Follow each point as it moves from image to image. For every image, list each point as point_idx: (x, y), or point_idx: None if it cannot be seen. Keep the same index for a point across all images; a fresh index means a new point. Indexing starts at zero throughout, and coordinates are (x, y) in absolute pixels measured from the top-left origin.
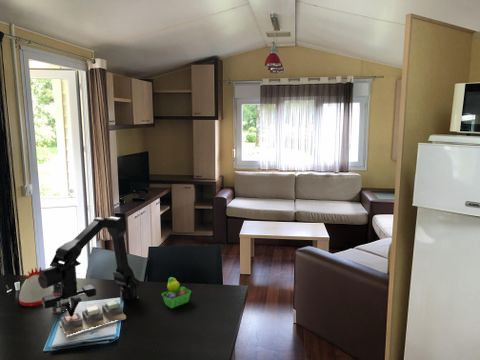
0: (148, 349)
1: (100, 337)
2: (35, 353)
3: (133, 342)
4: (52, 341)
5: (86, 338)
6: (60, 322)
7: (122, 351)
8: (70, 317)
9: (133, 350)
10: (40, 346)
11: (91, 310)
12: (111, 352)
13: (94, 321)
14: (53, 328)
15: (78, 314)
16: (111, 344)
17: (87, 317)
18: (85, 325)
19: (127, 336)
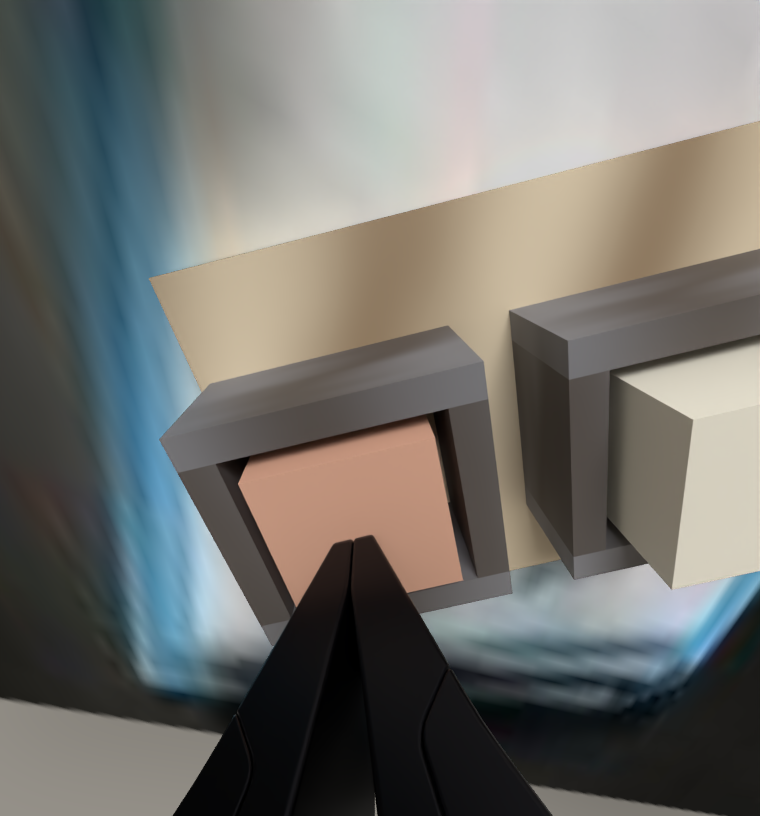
0: (750, 788)
1: (573, 649)
2: (90, 698)
3: (727, 735)
4: (185, 599)
5: (472, 634)
6: (179, 308)
7: (633, 779)
8: (343, 530)
9: (685, 782)
10: (94, 635)
11: (736, 564)
12: (578, 775)
13: None
14: (113, 352)
15: (482, 444)
16: (608, 725)
17: (587, 574)
18: (507, 512)
19: (736, 683)
